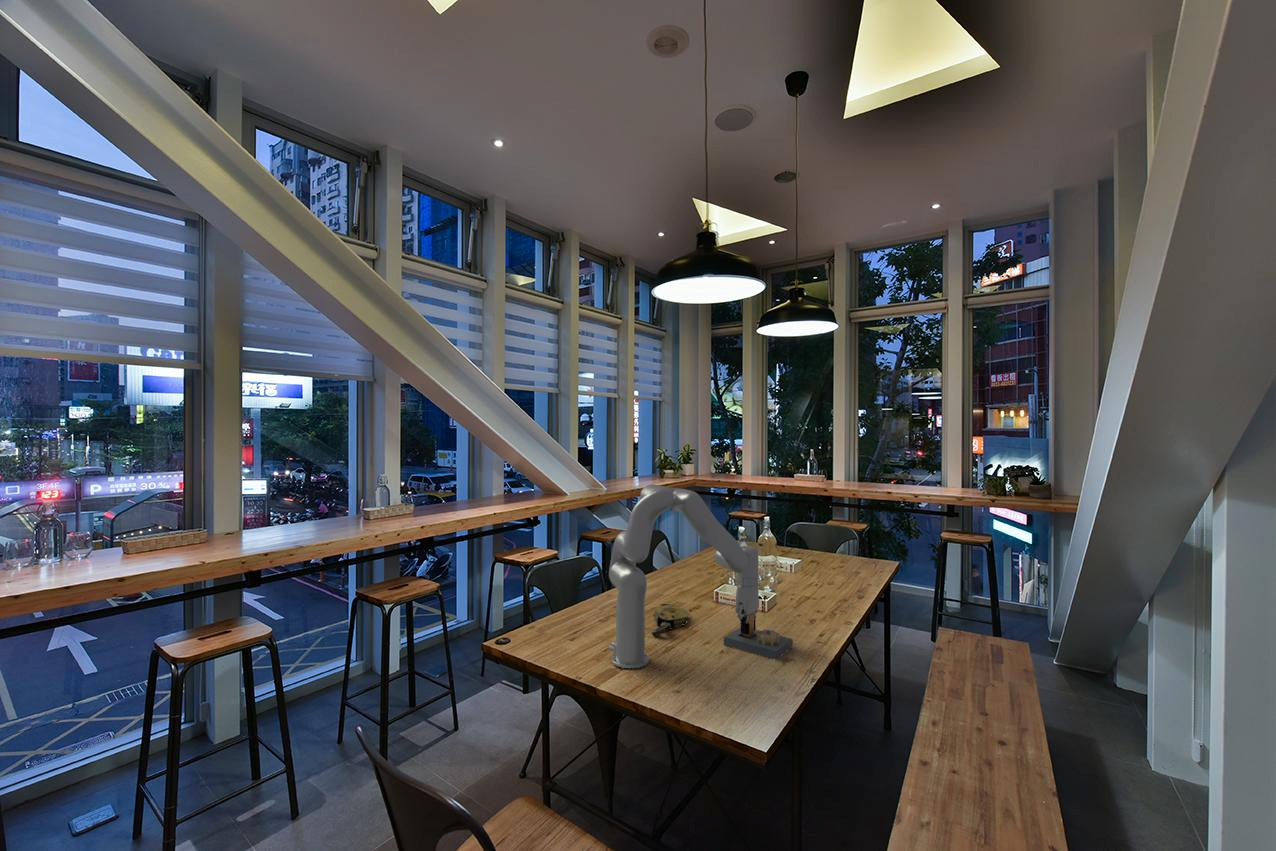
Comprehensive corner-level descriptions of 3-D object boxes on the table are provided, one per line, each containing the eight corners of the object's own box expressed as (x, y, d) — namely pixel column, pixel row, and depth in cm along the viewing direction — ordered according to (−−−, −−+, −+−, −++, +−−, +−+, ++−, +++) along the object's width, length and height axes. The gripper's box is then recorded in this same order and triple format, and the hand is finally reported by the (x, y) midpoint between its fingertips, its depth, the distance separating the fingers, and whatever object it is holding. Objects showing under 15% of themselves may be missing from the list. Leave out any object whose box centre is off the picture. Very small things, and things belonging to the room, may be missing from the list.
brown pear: (740, 635, 194) (740, 612, 194) (745, 631, 197) (745, 610, 198) (750, 637, 192) (750, 615, 192) (755, 634, 195) (755, 612, 195)
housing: (723, 645, 193) (723, 627, 193) (742, 634, 204) (742, 616, 204) (775, 660, 180) (775, 640, 180) (792, 647, 191) (792, 629, 191)
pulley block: (640, 620, 201) (662, 597, 229) (638, 635, 201) (659, 610, 229) (676, 630, 196) (694, 605, 225) (674, 645, 196) (691, 619, 225)
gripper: (749, 574, 204) (749, 623, 204) (727, 584, 191) (727, 635, 191) (767, 577, 199) (768, 627, 199) (746, 588, 186) (746, 641, 186)
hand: (748, 631), depth 195 cm, fingers closed on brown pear, 4 cm apart
